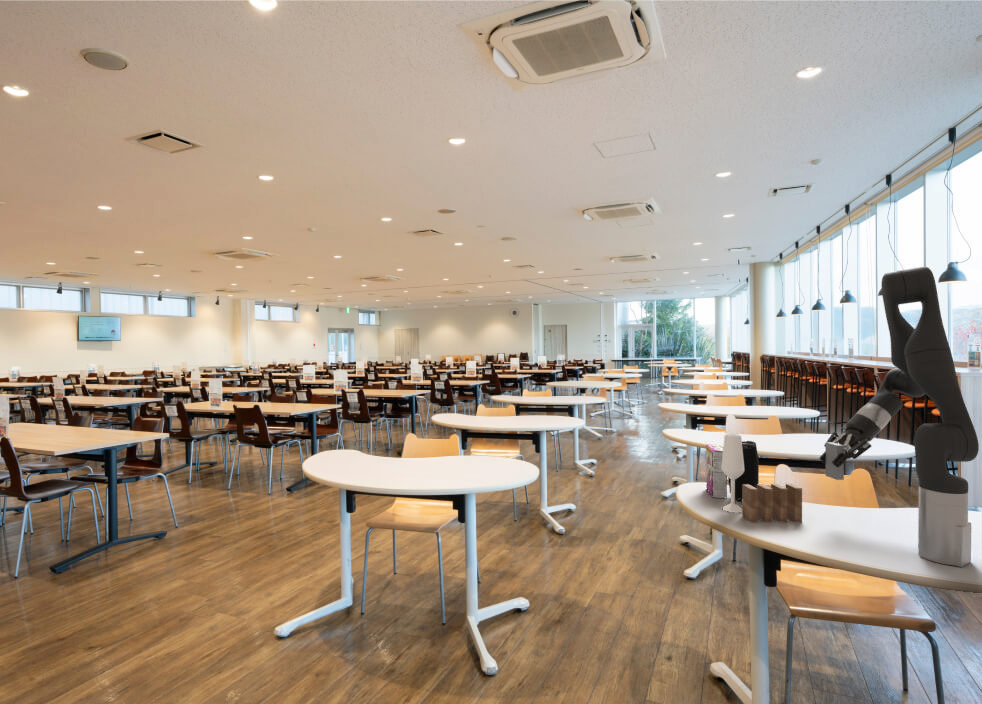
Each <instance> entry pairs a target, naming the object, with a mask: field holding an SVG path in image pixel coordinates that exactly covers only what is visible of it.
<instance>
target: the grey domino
mask: <svg viewBox="0 0 982 704" xmlns="http://www.w3.org/2000/svg"><path fill="white" fill-rule="evenodd" d="M824 445H825V446H824V448H825V451H824V452H826V463H825V477H828V478H831V479H834V480H836V481H843V480H845V478H844V477H845V470H844V469H845V465H844V464H845V462H844V463H843V464H842V465H841V466H840V467H835V466H834V465H833V464H832V461H833V460H834V459H835V458H836V457H837V456H838V455H839V454H840V453H841V452H842V450H843V449H844V445H840V444H839V443H838V444H837V443H833V442H827V441H826V442H825V443H824ZM841 454H842V453H841Z"/></svg>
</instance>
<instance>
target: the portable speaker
mask: <svg viewBox="0 0 982 704" xmlns="http://www.w3.org/2000/svg"><path fill="white" fill-rule="evenodd" d="M742 450H743V460H744V472H743V474H742V475H741V476H740V477H738V478H737V479H735V500H738V501H739V500H742V484H749V485H751V486H753V487H755V488H757V484H760V482H759V478H760V477H759V474H760V473H759V472H760V471H759V470H760V469H759V467H760V466H759V463H760V461H759V454H758V448H757V443H756V442H755V441H752V440H746V441H742ZM727 481H728V486H729V487H728V488H729V493H730V494H731V479H730V478H728V477H727Z"/></svg>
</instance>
